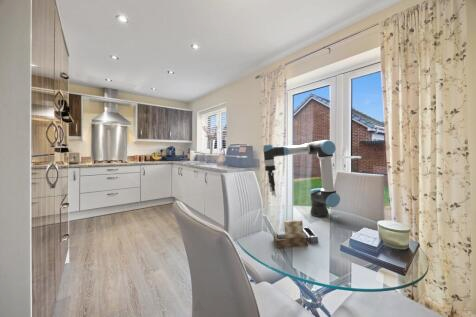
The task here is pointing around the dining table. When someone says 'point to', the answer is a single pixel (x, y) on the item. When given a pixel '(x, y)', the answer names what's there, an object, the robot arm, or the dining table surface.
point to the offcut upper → (280, 234)
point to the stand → (313, 237)
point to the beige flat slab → (293, 229)
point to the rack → (290, 242)
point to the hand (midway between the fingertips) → (272, 193)
